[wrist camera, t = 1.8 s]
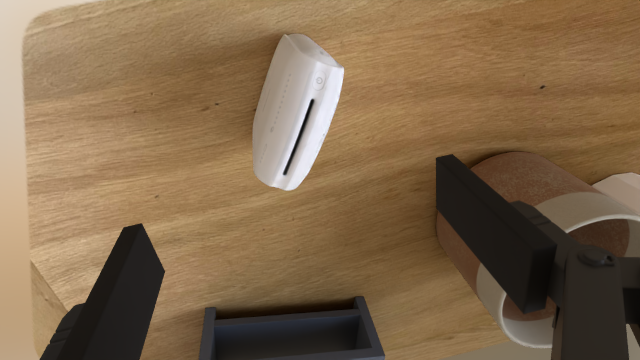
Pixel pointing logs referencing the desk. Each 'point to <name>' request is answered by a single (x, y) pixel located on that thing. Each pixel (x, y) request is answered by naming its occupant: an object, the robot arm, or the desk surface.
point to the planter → (561, 208)
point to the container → (622, 189)
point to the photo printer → (294, 111)
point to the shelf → (293, 336)
